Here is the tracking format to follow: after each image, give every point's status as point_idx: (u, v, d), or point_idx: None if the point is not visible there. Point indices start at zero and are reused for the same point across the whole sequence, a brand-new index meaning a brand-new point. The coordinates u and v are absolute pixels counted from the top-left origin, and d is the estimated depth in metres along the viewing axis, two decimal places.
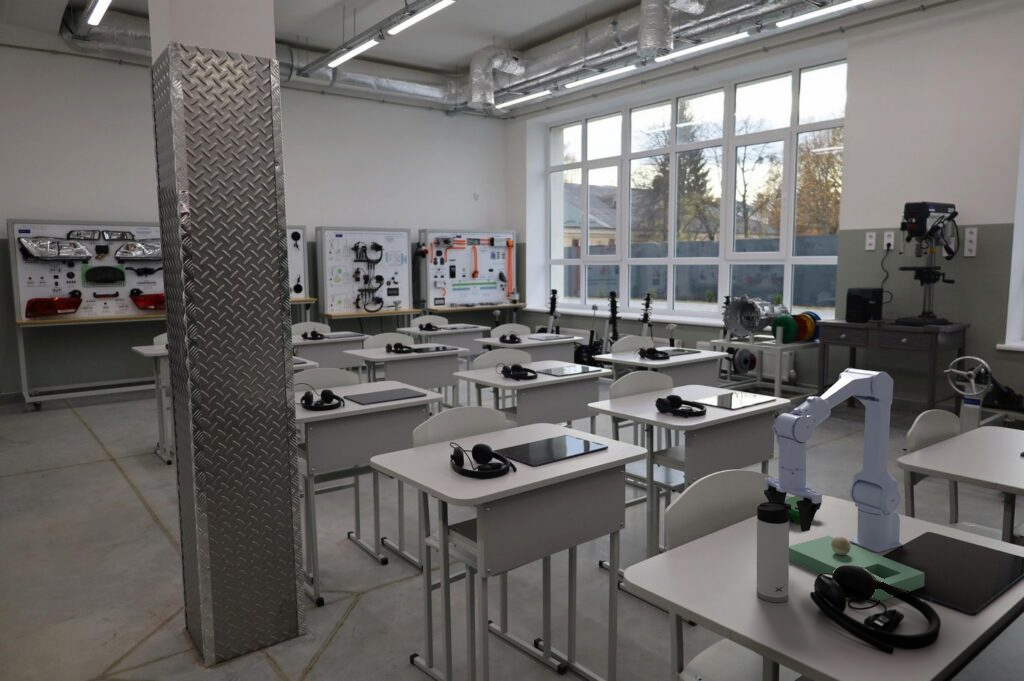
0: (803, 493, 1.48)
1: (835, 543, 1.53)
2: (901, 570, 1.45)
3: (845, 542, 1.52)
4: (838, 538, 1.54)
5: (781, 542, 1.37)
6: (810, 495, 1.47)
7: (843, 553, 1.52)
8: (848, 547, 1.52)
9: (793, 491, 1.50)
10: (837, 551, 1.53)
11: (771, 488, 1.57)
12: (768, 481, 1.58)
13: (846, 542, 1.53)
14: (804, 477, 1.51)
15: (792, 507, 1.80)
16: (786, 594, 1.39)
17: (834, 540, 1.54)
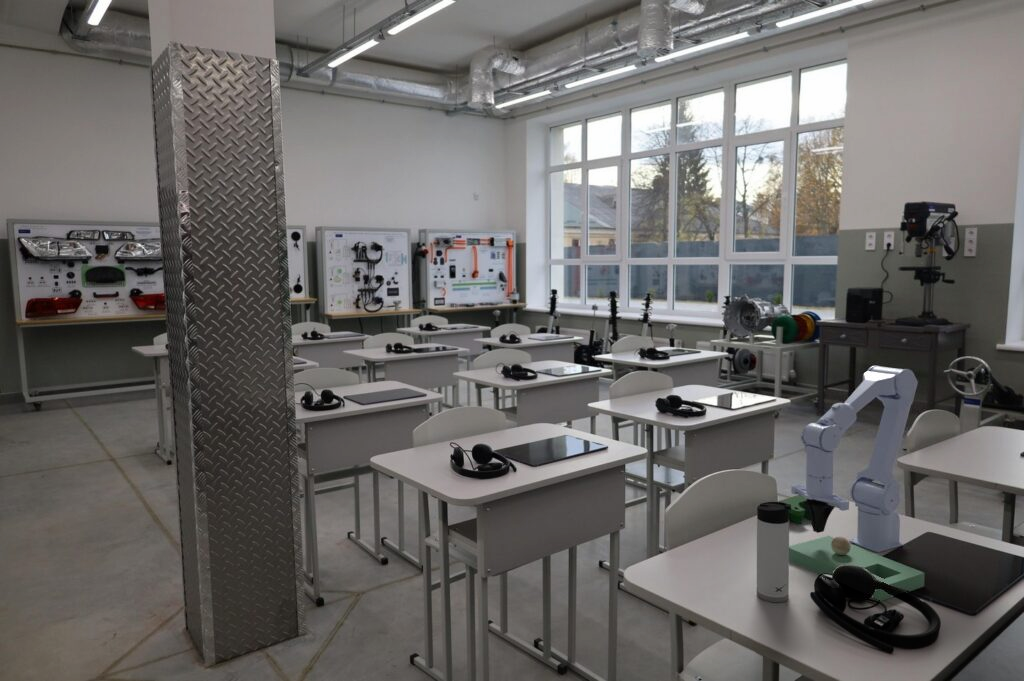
0: (831, 500, 1.54)
1: (835, 543, 1.53)
2: (901, 570, 1.45)
3: (845, 542, 1.52)
4: (838, 538, 1.54)
5: (781, 542, 1.37)
6: (838, 502, 1.53)
7: (843, 553, 1.52)
8: (848, 547, 1.52)
9: (821, 498, 1.55)
10: (837, 551, 1.53)
11: None
12: (795, 488, 1.63)
13: (846, 542, 1.53)
14: (831, 485, 1.56)
15: (792, 507, 1.81)
16: (786, 594, 1.39)
17: (834, 540, 1.54)
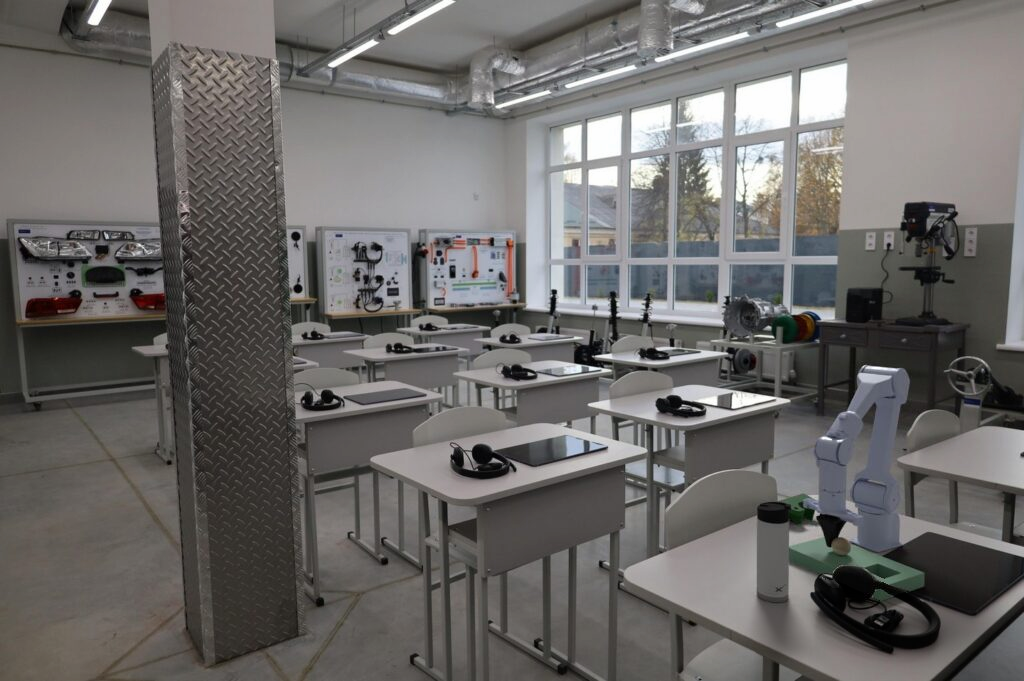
0: (844, 515, 1.51)
1: (836, 544, 1.53)
2: (901, 570, 1.45)
3: (846, 543, 1.52)
4: (839, 539, 1.53)
5: (781, 542, 1.37)
6: (851, 517, 1.50)
7: (843, 554, 1.52)
8: (848, 548, 1.52)
9: (834, 513, 1.52)
10: (837, 551, 1.53)
11: None
12: (807, 502, 1.60)
13: (847, 543, 1.52)
14: (844, 499, 1.53)
15: (791, 507, 1.81)
16: (786, 594, 1.39)
17: (835, 540, 1.54)
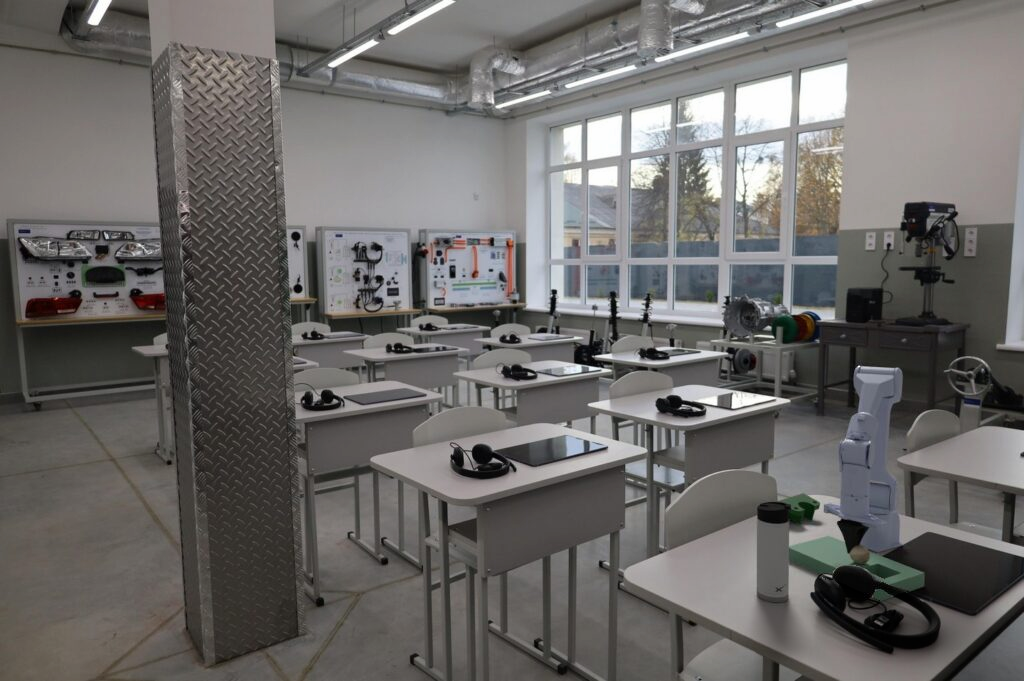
0: (867, 521, 1.45)
1: (854, 559, 1.48)
2: (901, 570, 1.45)
3: None
4: (860, 563, 1.48)
5: (781, 542, 1.37)
6: (875, 523, 1.44)
7: None
8: None
9: (856, 518, 1.47)
10: None
11: None
12: (828, 507, 1.55)
13: None
14: (868, 504, 1.47)
15: (791, 507, 1.81)
16: (786, 594, 1.39)
17: (859, 560, 1.48)
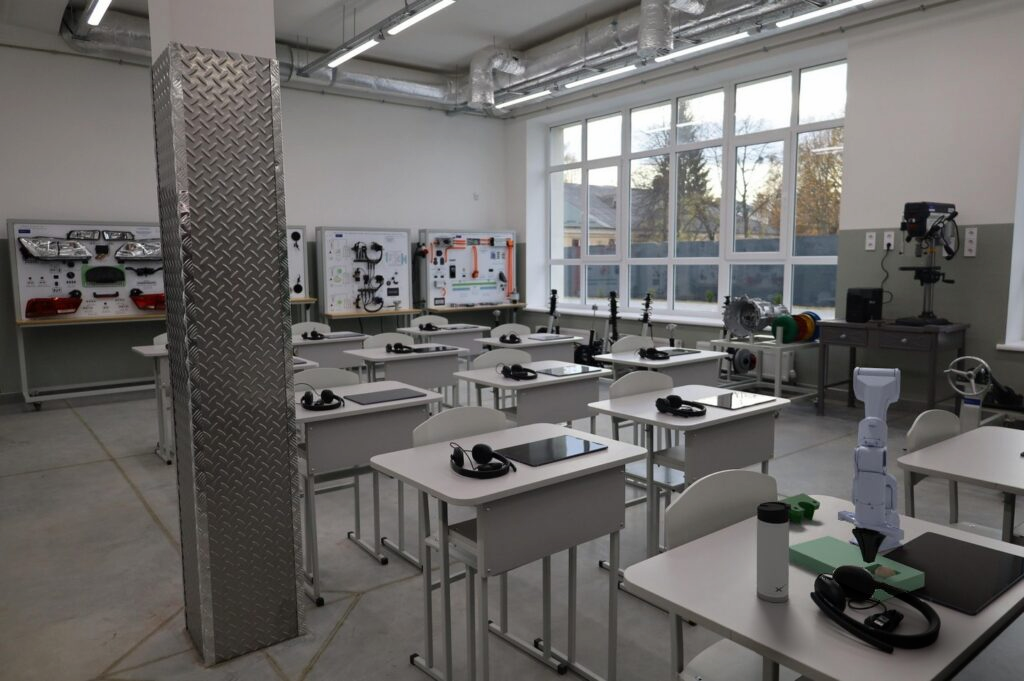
0: (884, 529, 1.42)
1: (882, 574, 1.43)
2: (901, 570, 1.45)
3: None
4: (888, 571, 1.43)
5: (781, 542, 1.37)
6: (892, 532, 1.41)
7: None
8: None
9: (872, 527, 1.44)
10: None
11: None
12: (842, 515, 1.52)
13: None
14: (883, 512, 1.45)
15: (791, 507, 1.81)
16: (786, 594, 1.39)
17: (883, 570, 1.44)
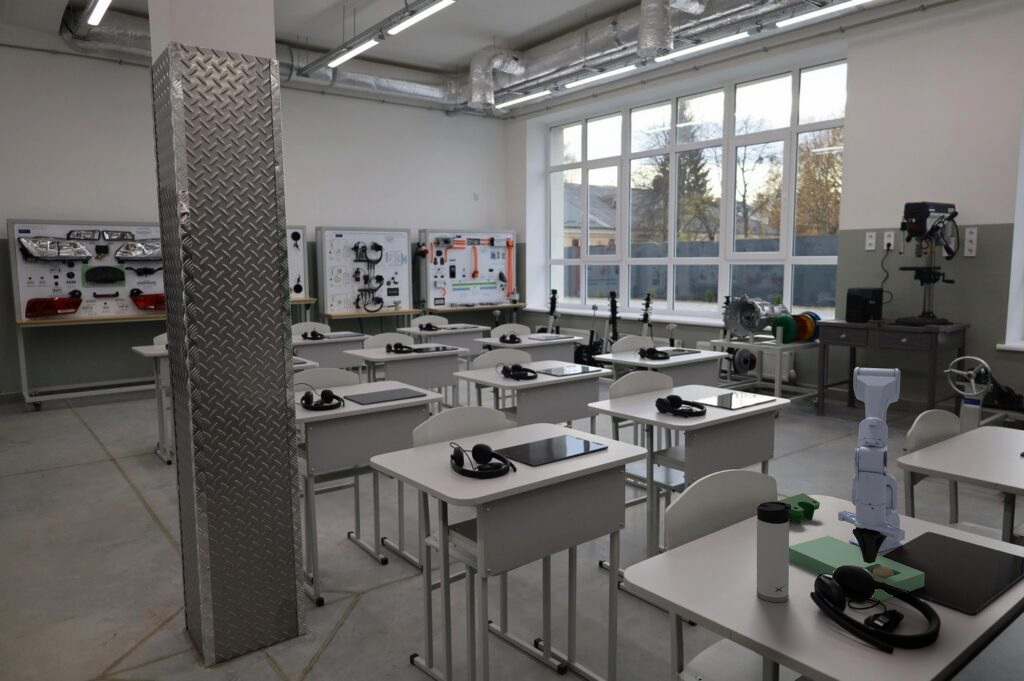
0: (884, 530, 1.42)
1: (880, 572, 1.44)
2: (901, 570, 1.45)
3: (890, 576, 1.43)
4: (885, 568, 1.44)
5: (781, 542, 1.37)
6: (892, 532, 1.41)
7: None
8: None
9: (873, 527, 1.44)
10: None
11: None
12: (843, 515, 1.51)
13: (891, 575, 1.43)
14: (884, 512, 1.44)
15: (791, 507, 1.81)
16: (786, 594, 1.39)
17: (880, 568, 1.45)
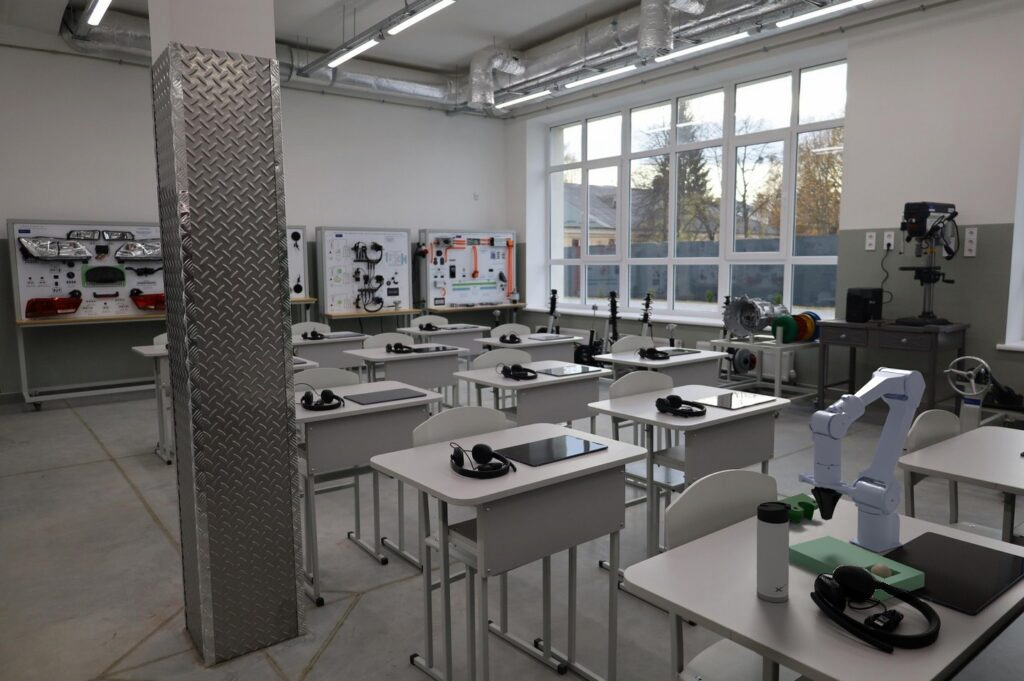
0: (839, 488, 1.54)
1: (876, 569, 1.45)
2: (901, 570, 1.45)
3: (887, 572, 1.44)
4: (881, 565, 1.45)
5: (781, 542, 1.37)
6: (846, 489, 1.52)
7: None
8: None
9: (829, 486, 1.55)
10: None
11: None
12: (803, 476, 1.63)
13: (889, 572, 1.44)
14: (839, 472, 1.56)
15: (791, 507, 1.81)
16: (786, 594, 1.39)
17: (876, 566, 1.46)
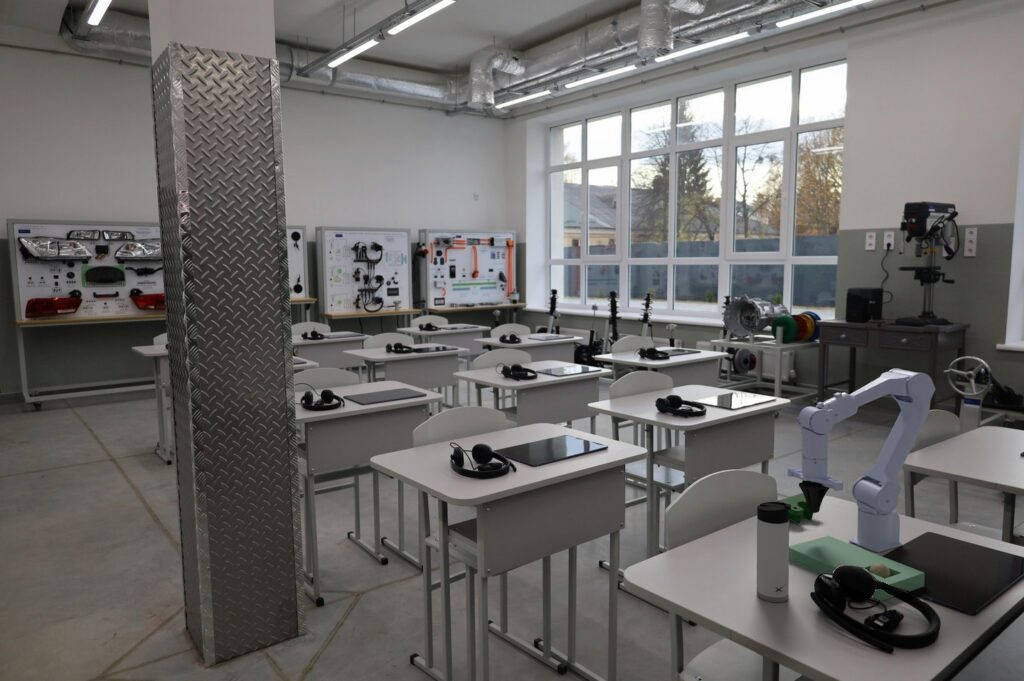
0: (825, 481, 1.58)
1: (874, 568, 1.46)
2: (901, 570, 1.45)
3: (885, 569, 1.45)
4: (878, 563, 1.46)
5: (781, 542, 1.37)
6: (832, 483, 1.57)
7: None
8: (887, 574, 1.44)
9: (816, 479, 1.60)
10: None
11: None
12: (791, 471, 1.68)
13: (886, 569, 1.45)
14: (826, 466, 1.61)
15: (791, 507, 1.81)
16: (786, 594, 1.39)
17: (873, 565, 1.46)
